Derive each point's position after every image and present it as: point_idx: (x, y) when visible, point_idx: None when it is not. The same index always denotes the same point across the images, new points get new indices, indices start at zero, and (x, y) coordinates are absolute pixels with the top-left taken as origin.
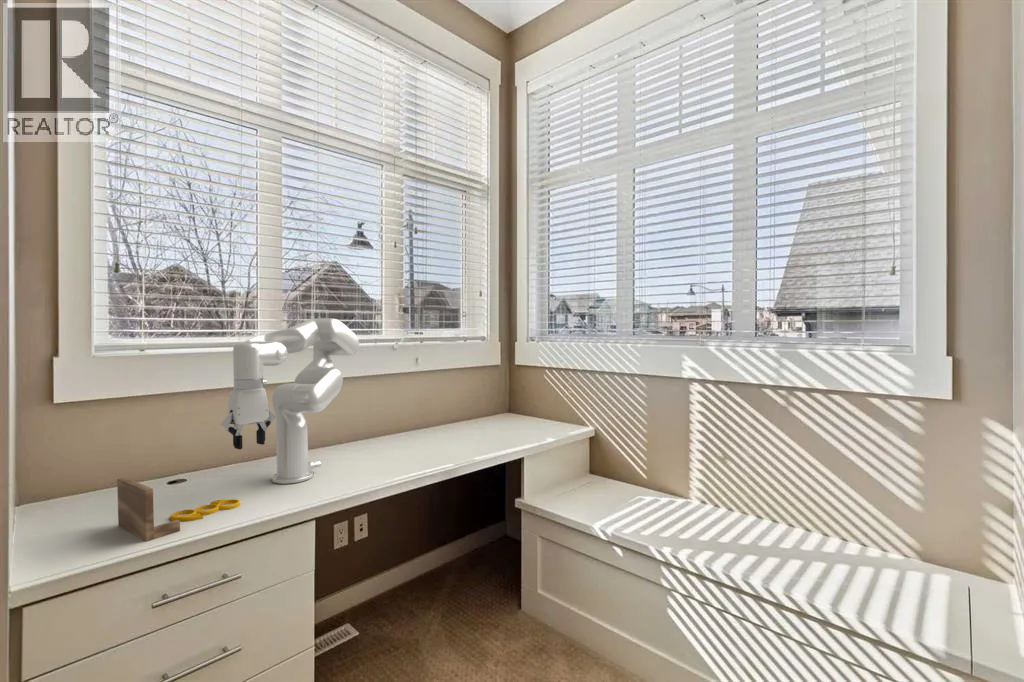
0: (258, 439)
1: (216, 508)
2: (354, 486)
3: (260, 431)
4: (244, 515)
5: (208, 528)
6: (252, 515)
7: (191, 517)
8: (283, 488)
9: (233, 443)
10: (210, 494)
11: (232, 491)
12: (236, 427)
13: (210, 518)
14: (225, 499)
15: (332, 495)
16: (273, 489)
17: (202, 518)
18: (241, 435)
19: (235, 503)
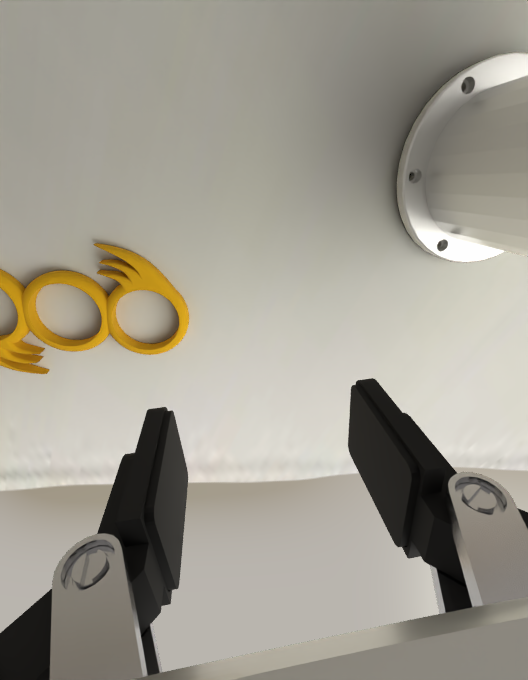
0: (365, 434)
1: (96, 344)
2: (477, 425)
3: (408, 527)
4: None
5: (52, 452)
6: None
7: (6, 366)
8: (369, 276)
9: (120, 471)
10: (130, 65)
11: (225, 121)
12: (116, 665)
13: (70, 385)
14: (147, 275)
15: None
16: (343, 256)
17: (47, 369)
18: (167, 603)
19: (162, 349)
